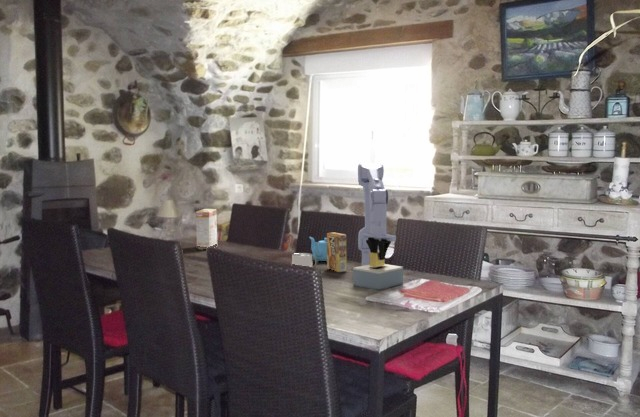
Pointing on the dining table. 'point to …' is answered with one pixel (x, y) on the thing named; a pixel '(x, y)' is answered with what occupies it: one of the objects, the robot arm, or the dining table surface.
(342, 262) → the candy box
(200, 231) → the coffeecake box
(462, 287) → the dining table surface
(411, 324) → the dining table surface
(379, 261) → the gold block
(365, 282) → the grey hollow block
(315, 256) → the teapot
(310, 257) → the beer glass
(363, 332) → the dining table surface
